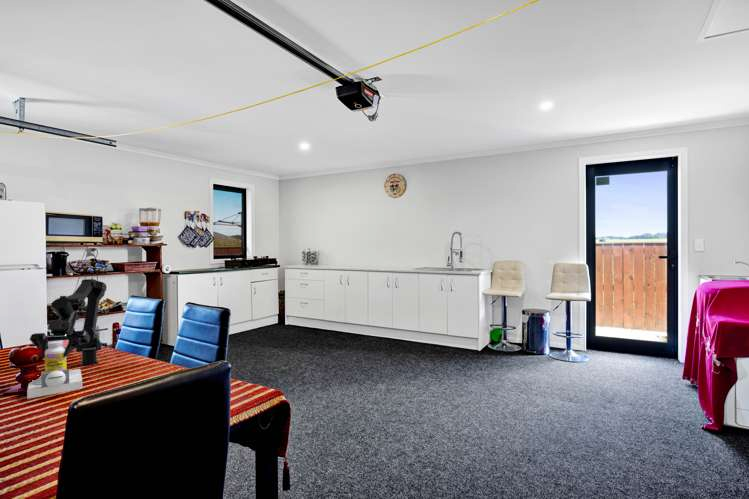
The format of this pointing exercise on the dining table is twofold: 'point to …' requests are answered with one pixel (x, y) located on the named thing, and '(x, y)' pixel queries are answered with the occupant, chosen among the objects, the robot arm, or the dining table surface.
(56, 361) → the supplement bottle
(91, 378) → the dining table surface
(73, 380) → the kitchen scale
